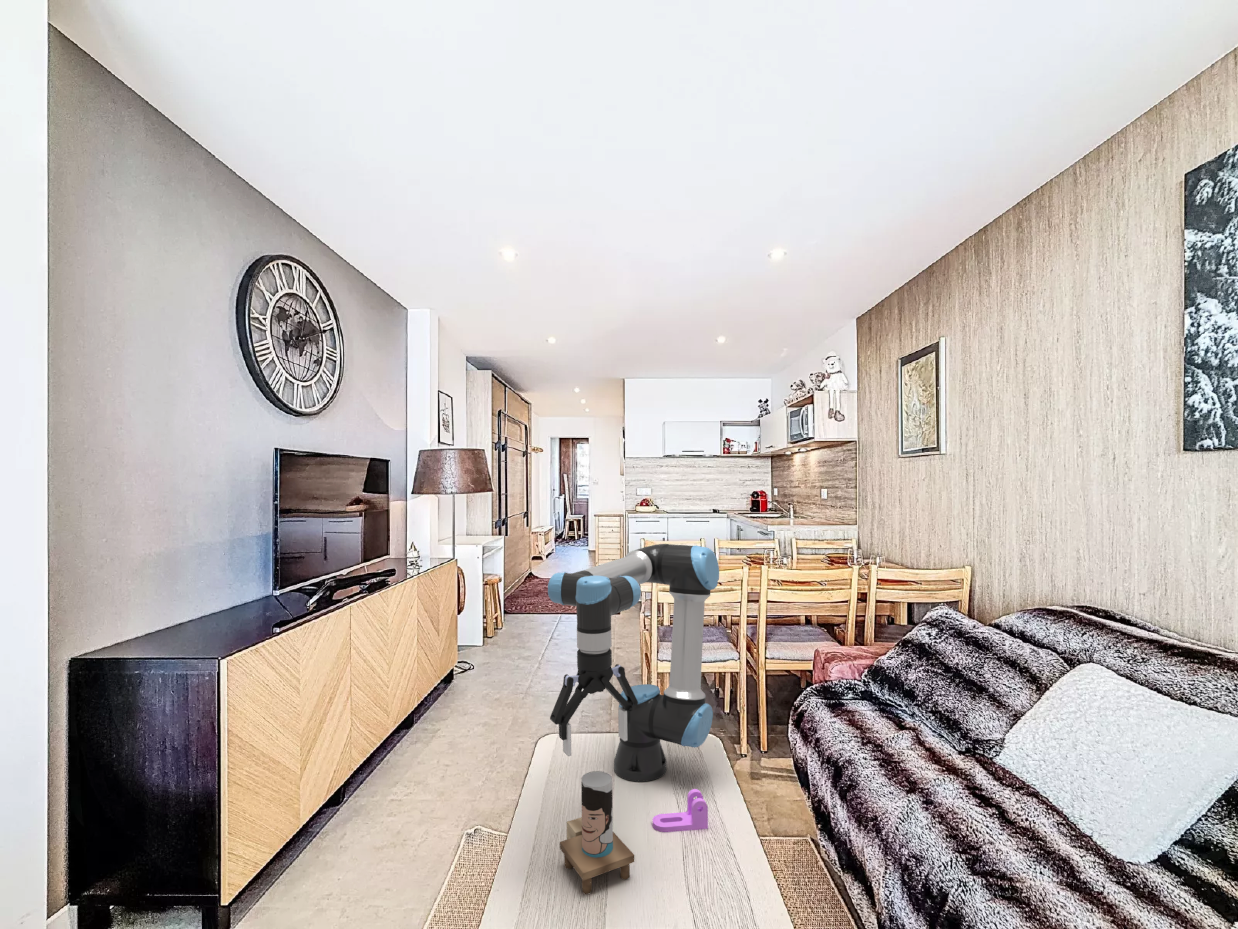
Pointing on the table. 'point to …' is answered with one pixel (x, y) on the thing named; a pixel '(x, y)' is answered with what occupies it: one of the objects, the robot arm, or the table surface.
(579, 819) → the oak block
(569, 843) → the stand
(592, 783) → the printed can
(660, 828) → the bracket
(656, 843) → the table surface
